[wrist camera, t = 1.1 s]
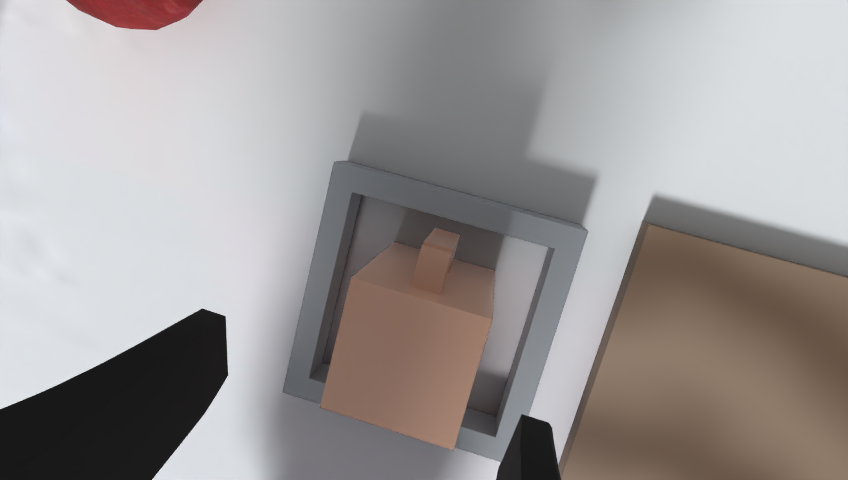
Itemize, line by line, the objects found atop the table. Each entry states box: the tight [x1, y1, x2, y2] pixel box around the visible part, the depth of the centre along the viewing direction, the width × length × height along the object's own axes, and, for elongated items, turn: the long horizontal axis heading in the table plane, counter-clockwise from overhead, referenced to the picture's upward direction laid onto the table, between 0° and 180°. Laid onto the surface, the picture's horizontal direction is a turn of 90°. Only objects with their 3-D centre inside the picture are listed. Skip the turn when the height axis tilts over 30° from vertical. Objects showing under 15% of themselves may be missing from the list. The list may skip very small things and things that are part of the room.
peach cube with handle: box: [320, 228, 495, 450], centre depth 20 cm, size 6×5×7 cm
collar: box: [283, 161, 588, 462], centre depth 23 cm, size 10×10×2 cm
